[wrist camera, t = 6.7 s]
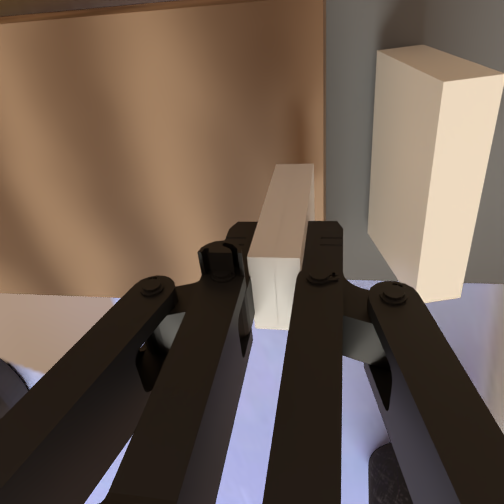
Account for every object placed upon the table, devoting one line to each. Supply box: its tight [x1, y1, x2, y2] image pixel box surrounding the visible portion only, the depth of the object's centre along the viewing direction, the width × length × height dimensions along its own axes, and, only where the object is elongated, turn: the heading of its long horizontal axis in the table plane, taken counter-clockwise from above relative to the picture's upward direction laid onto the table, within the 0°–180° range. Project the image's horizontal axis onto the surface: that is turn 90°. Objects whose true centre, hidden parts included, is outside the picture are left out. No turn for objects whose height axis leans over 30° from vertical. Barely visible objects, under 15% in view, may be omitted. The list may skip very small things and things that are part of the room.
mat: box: [326, 0, 504, 284], centre depth 21 cm, size 12×16×1 cm
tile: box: [368, 45, 504, 303], centre depth 19 cm, size 6×9×2 cm
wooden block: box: [0, 0, 326, 298], centre depth 23 cm, size 20×14×4 cm
